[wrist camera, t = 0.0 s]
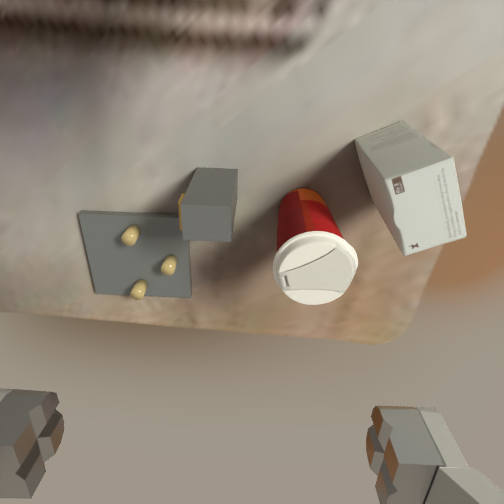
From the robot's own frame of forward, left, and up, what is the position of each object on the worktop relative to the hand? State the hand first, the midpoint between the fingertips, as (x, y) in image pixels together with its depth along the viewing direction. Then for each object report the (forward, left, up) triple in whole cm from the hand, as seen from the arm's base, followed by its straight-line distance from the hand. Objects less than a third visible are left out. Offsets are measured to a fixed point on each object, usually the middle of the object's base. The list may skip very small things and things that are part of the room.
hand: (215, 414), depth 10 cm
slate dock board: (+20, -15, -39) cm, 46 cm away
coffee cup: (+12, +7, -39) cm, 41 cm away
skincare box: (+5, +16, -39) cm, 42 cm away
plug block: (+9, -4, -39) cm, 40 cm away
